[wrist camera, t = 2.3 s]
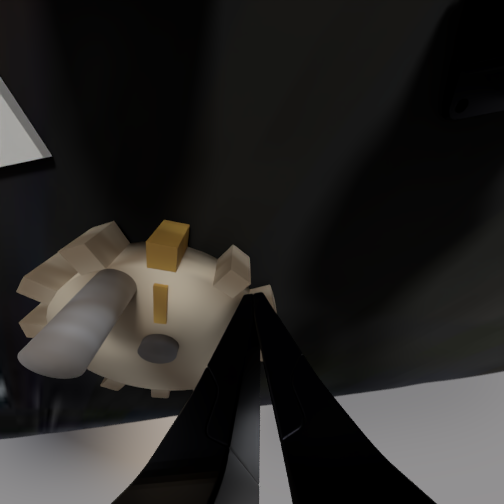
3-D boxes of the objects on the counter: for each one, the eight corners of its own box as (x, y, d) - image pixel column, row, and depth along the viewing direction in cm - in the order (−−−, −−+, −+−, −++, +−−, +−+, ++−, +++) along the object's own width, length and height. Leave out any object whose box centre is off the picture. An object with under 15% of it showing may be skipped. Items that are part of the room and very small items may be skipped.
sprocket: (257, 194, 11) (273, 273, 5) (283, 357, 19) (299, 452, 14) (-13, 244, 12) (-247, 354, 6) (126, 377, 20) (82, 473, 15)
